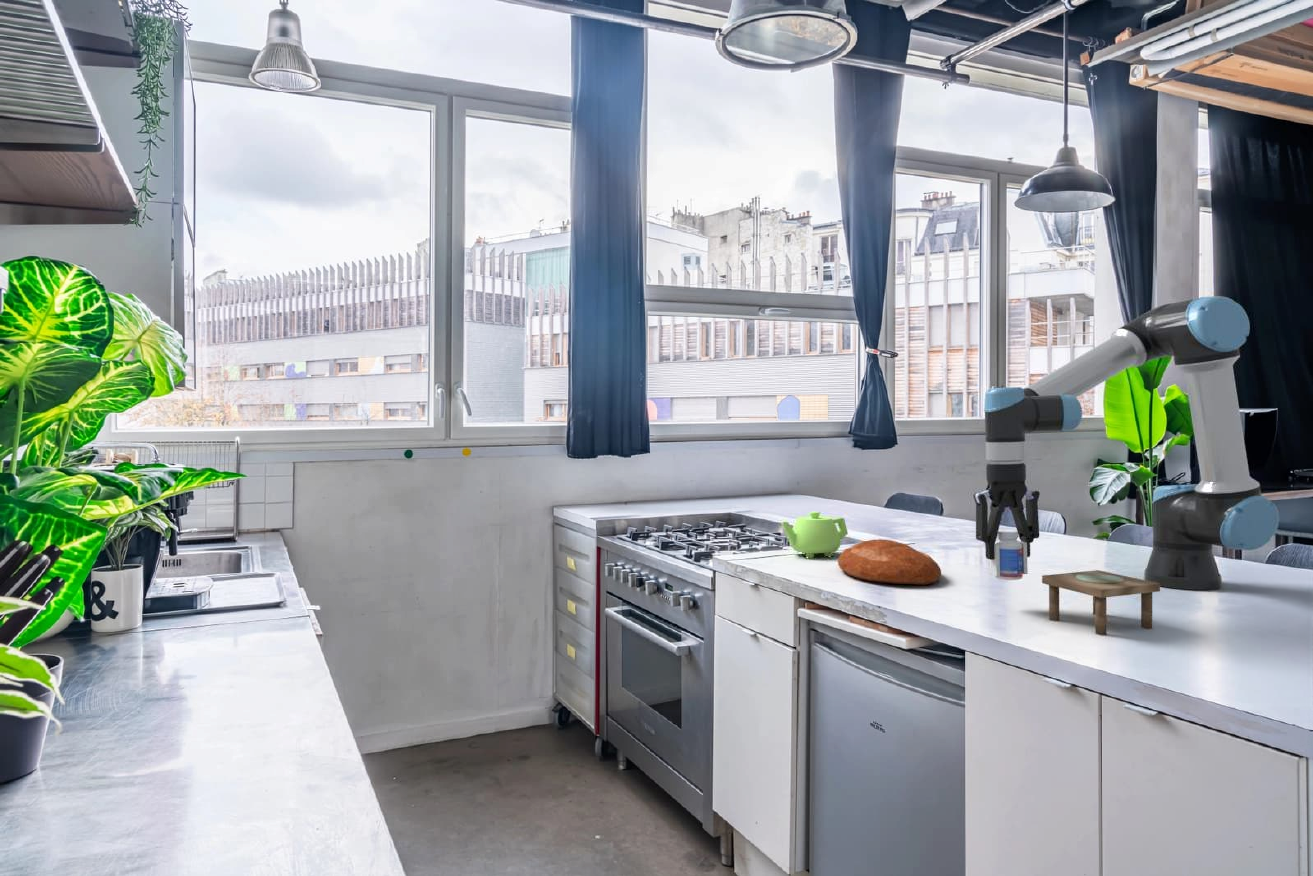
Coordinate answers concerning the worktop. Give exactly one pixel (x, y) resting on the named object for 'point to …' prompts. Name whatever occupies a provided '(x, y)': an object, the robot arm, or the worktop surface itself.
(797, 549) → the teapot
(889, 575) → the bread
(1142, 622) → the small wooden table
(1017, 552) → the pill bottle
